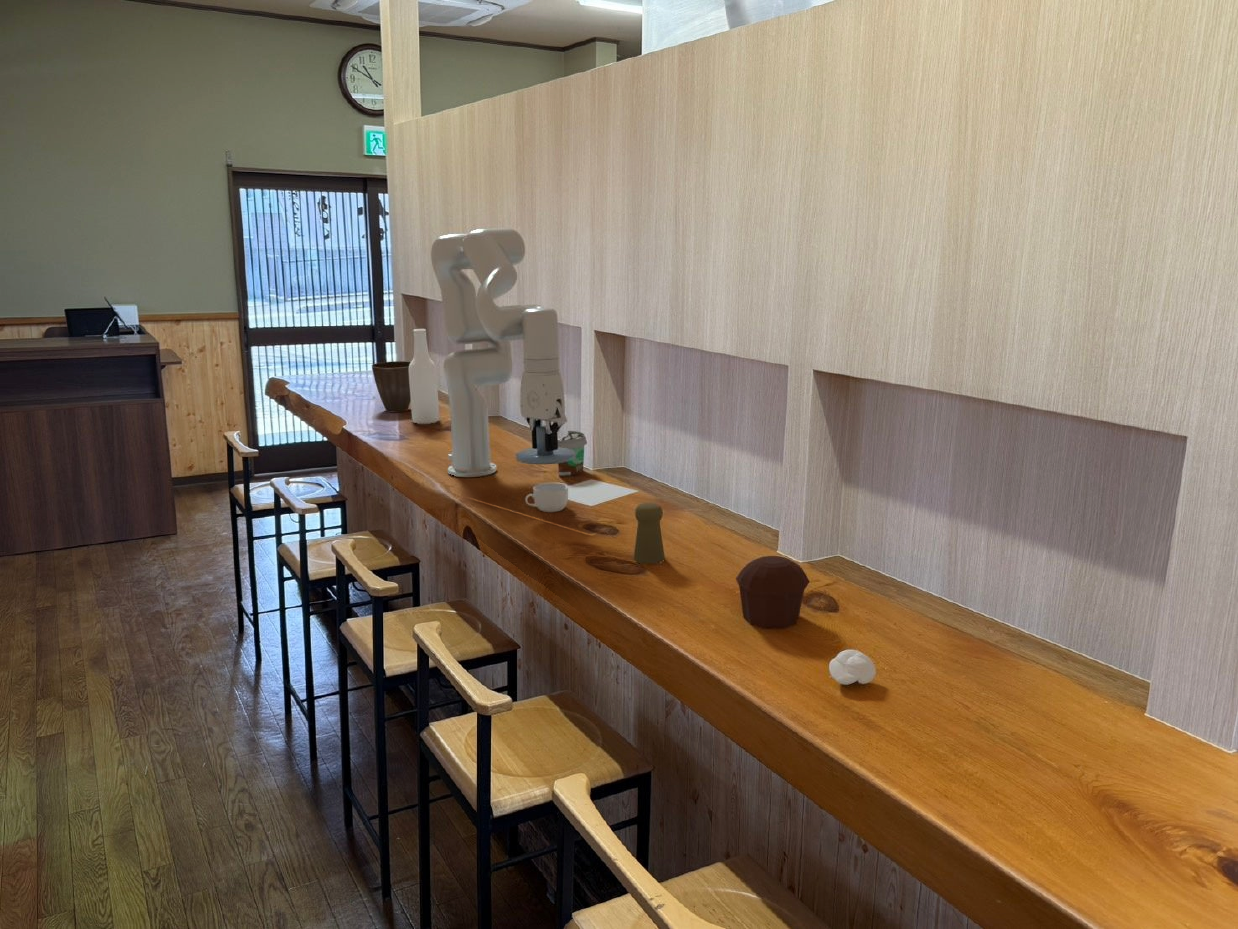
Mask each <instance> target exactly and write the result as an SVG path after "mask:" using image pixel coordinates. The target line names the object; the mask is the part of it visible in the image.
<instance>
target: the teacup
mask: <svg viewBox="0 0 1238 929" xmlns="http://www.w3.org/2000/svg"><path fill="white" fill-rule="evenodd" d="M568 486H569V485H568V484H567V483H562V482H545V483H544V482H543V483H538V484H536V485H534V486H533V487H532V490H533V493H529V494H527V495H526V496H525V503H526V504H527V505H528V506H530V507H535V508H537V509H538V510H539V511H541V512H543V513H556V512H560V511H562V510H563V509H565V508H566V506H567V504H568V502H569V500H568ZM529 497H532V499H533V500H534V503H529V502H528V499H529Z"/></svg>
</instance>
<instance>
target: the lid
mask: <svg viewBox="0 0 1238 929" xmlns="http://www.w3.org/2000/svg"><path fill="white" fill-rule="evenodd" d="M546 433H547V431H546V424H545V425H543V424H542V426H537V427H536V438H537V449H533V448H525V449H523V450H520V451H518V452H516V454H515V460H516V461H517V462H519V463H522V464H527V465H558V463H563V462H567V461H570V460H572V459H574V458H575V452H574V451H573V450H571V449H567V448H561V447H558V449H557V450H554V451H550V452H547V451H546V450H545V434H546Z"/></svg>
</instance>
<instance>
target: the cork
mask: <svg viewBox="0 0 1238 929" xmlns="http://www.w3.org/2000/svg"><path fill="white" fill-rule="evenodd" d="M634 516H635V519H636V520H637V527H636V528H637V529H636V536H635V545H634V553H633V561H634V560H635V561H636V562H638V563H641V564H640V565H643V564H655V565H657V564H656V563H660V562H662V561H663V560H666V559H665V550H664V543H663V535H662V528H661V520H662V519H663V508H662V506H661V505H660V504H658V503H657V502H655V503H654V502H643V503H640V504H638V505H636V507H635V511H634ZM635 561H634V562H635ZM636 562H635V563H636ZM638 563H637V564H638ZM662 563H663V562H662ZM660 564H661V563H660Z"/></svg>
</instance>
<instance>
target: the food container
mask: <svg viewBox="0 0 1238 929" xmlns="http://www.w3.org/2000/svg"><path fill="white" fill-rule="evenodd" d="M587 444H588V441H587V437H586V436H585V433H584V432H580V431H576V430H568V431H567V435H565V436H563V437H562V439H560V440H558V447H561V448H567V449H571V450H573V451H574V452H575V458H574V459H572V460H570V461H567V462H563V463H557V465H558V467H557V468H558V477H559V478H568V477H576V476H579V475H581V474H583V473H584V463H585V462H584V459H585V458H584V457H585V445H587Z"/></svg>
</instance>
